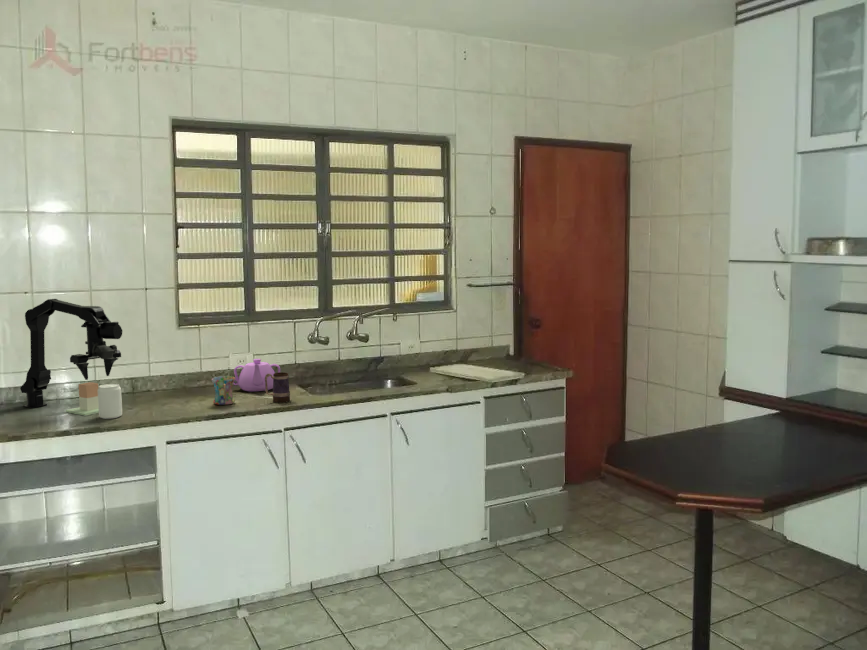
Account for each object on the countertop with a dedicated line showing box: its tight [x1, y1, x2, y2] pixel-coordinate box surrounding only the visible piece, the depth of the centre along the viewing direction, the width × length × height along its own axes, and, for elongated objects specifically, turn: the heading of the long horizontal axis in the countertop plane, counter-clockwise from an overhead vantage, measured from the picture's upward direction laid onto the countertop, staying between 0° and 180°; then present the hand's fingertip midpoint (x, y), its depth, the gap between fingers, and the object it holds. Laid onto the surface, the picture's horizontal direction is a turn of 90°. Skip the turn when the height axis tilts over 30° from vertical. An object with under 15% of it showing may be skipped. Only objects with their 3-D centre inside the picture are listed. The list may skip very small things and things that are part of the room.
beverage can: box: [98, 383, 123, 420], centre depth 276 cm, size 8×8×12 cm
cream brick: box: [78, 396, 99, 411], centre depth 287 cm, size 5×5×5 cm
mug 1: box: [211, 375, 236, 406], centre depth 297 cm, size 12×9×11 cm
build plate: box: [65, 406, 99, 417], centre depth 287 cm, size 12×12×1 cm
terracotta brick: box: [78, 381, 99, 398], centre depth 286 cm, size 5×5×5 cm
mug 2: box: [265, 371, 291, 404], centre depth 302 cm, size 10×7×12 cm
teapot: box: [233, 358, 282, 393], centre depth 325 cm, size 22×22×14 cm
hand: (97, 377), depth 289 cm, fingers open, 9 cm apart
